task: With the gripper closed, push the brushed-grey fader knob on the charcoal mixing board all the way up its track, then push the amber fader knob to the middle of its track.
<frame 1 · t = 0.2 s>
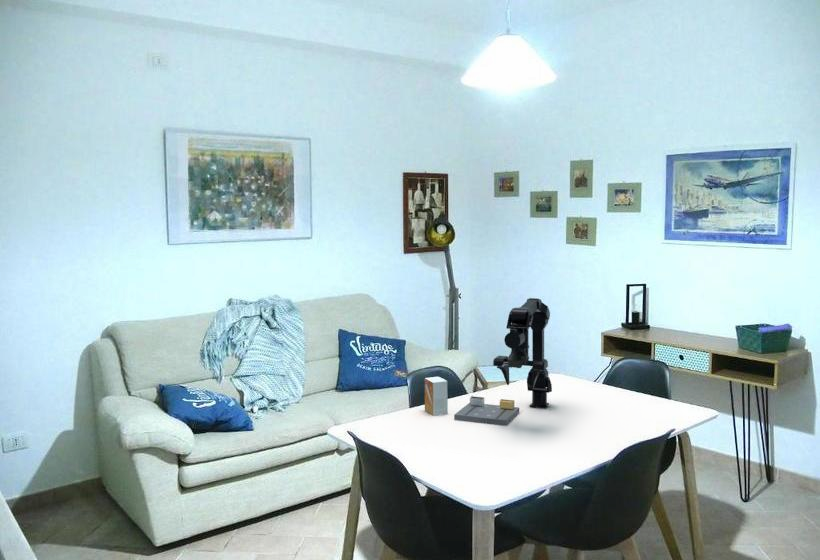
hand: (520, 386, 261), 14 cm above the table, tool pointing down, fingers open, 9 cm apart
small box: (436, 412, 280), on the table
amber fader: (507, 413, 277), resting on mixing board, slide at 0.0 cm
grey fader: (477, 410, 282), resting on mixing board, slide at 0.0 cm
mixing board: (487, 416, 274), on the table
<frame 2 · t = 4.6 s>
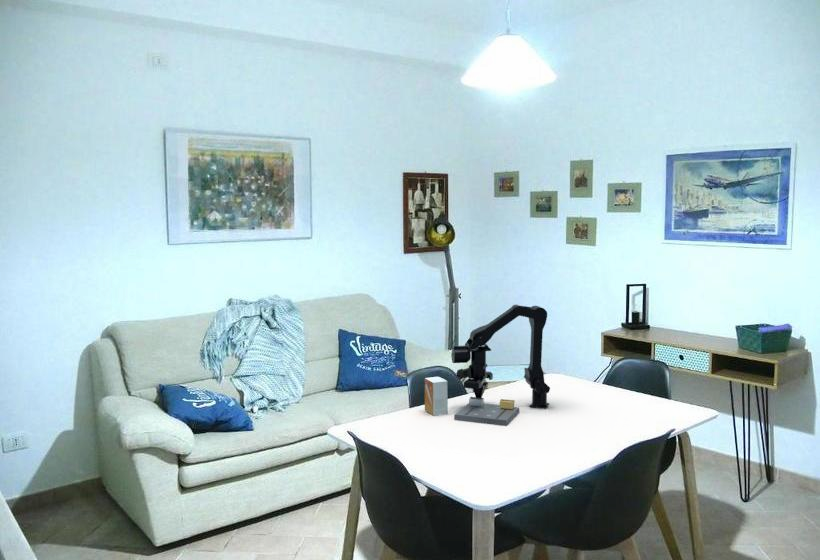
hand: (478, 401, 283), 3 cm above the table, tool pointing down, fingers closed
grey fader: (476, 410, 281), resting on mixing board, slide at 0.8 cm, touching gripper
everything else where it was.
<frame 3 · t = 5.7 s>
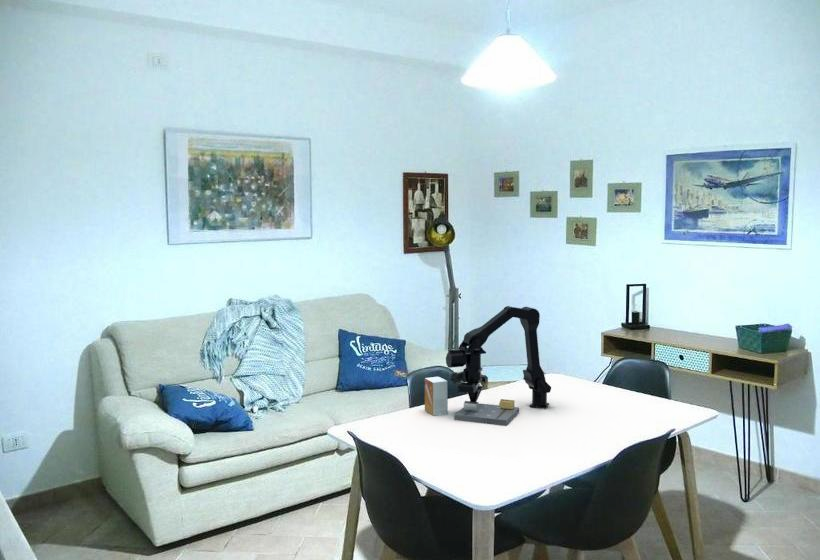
hand: (473, 405, 277), 3 cm above the table, tool pointing down, fingers closed
grey fader: (471, 415, 275), resting on mixing board, slide at 7.2 cm, touching gripper
everything else where it was.
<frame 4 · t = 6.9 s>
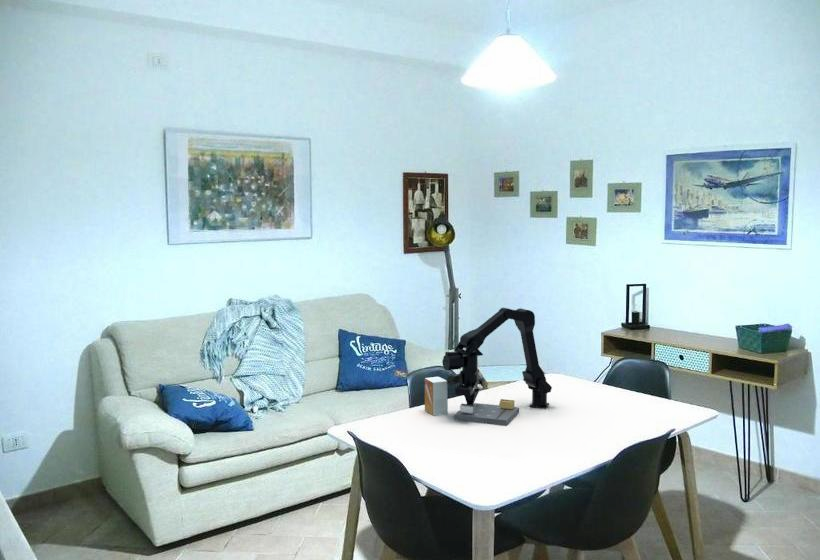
hand: (469, 408, 274), 3 cm above the table, tool pointing down, fingers closed
grey fader: (467, 418, 272), resting on mixing board, slide at 11.2 cm, touching gripper
everything else where it was.
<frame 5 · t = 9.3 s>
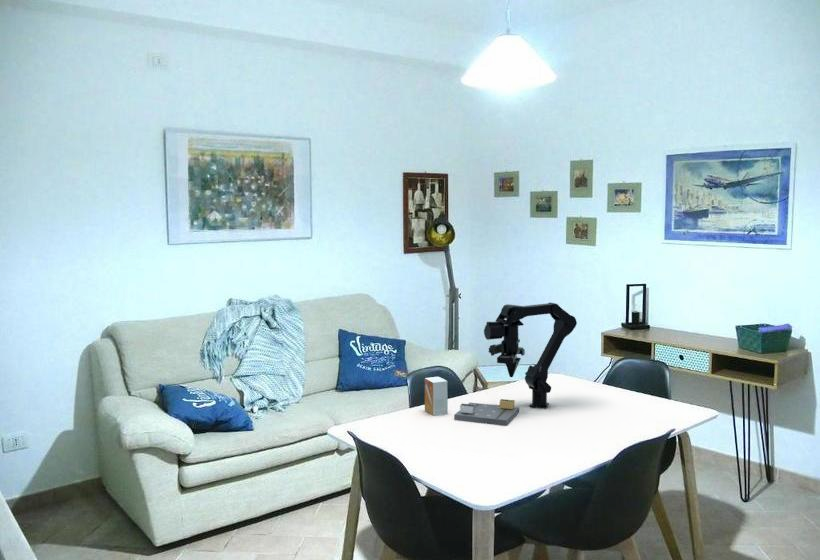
hand: (511, 376, 282), 13 cm above the table, tool pointing down, fingers closed
grey fader: (467, 418, 271), resting on mixing board, slide at 11.3 cm
everything else where it was.
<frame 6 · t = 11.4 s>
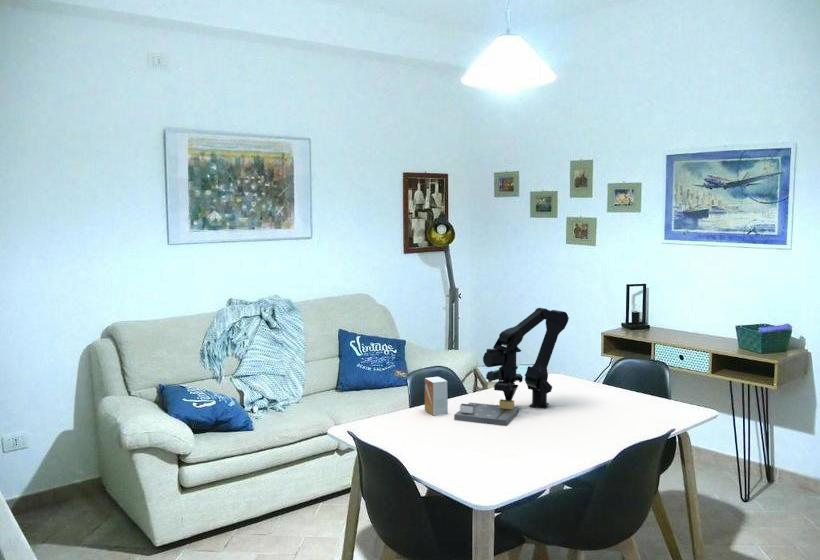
hand: (508, 403, 279), 3 cm above the table, tool pointing down, fingers closed
amber fader: (506, 413, 277), resting on mixing board, slide at 0.3 cm, touching gripper
everything else where it was.
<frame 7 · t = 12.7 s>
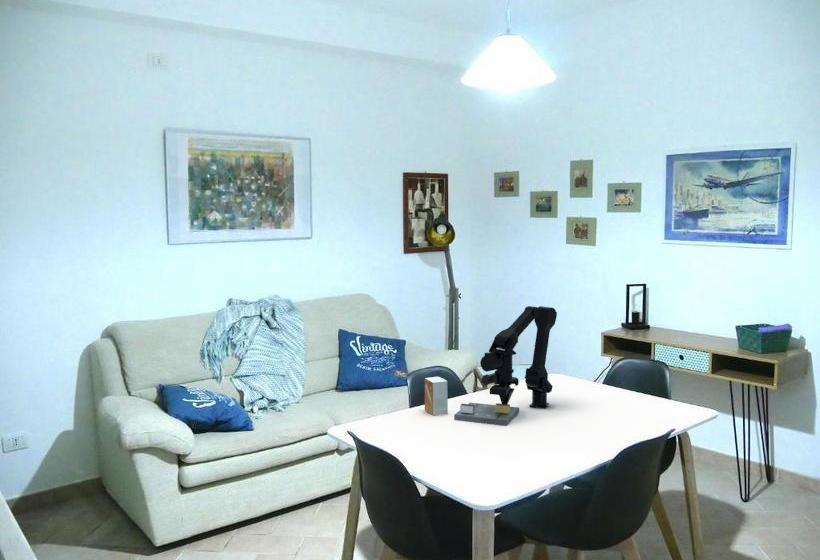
hand: (504, 408, 274), 3 cm above the table, tool pointing down, fingers closed
amber fader: (502, 417, 271), resting on mixing board, slide at 6.2 cm, touching gripper
everything else where it was.
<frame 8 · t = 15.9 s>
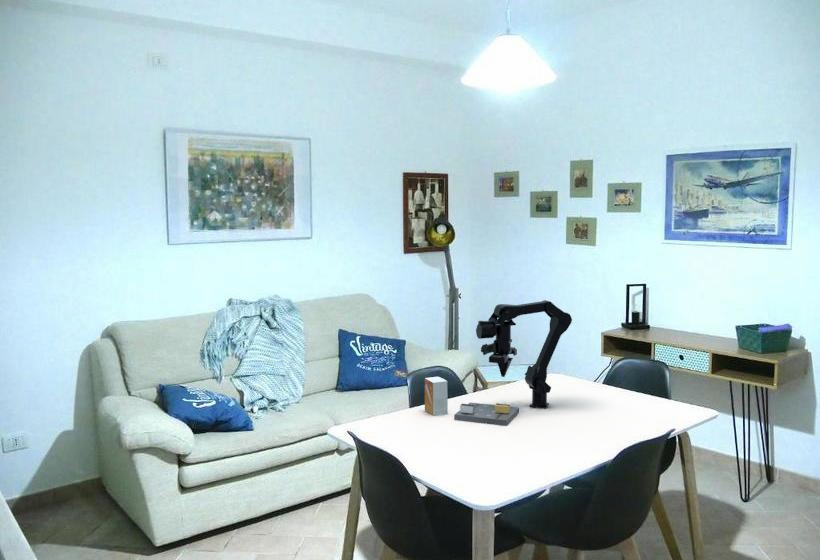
hand: (503, 376, 281), 13 cm above the table, tool pointing down, fingers closed
amber fader: (502, 418, 271), resting on mixing board, slide at 6.3 cm
everything else where it was.
at the end: grey fader slide at 11.3 cm; amber fader slide at 6.3 cm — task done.
